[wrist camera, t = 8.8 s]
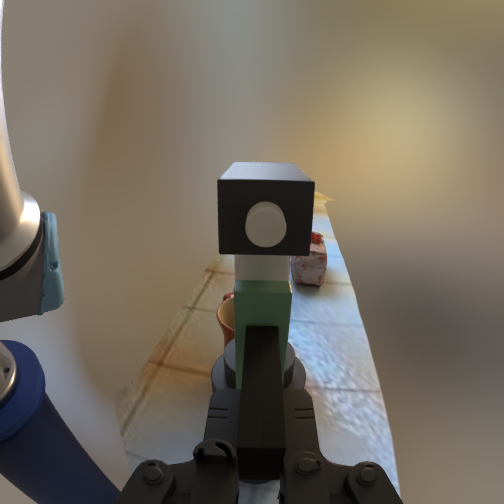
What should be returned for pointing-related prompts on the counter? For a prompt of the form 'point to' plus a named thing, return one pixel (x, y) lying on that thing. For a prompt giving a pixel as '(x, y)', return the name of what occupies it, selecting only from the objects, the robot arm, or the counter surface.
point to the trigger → (260, 314)
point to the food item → (311, 263)
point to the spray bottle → (263, 241)
